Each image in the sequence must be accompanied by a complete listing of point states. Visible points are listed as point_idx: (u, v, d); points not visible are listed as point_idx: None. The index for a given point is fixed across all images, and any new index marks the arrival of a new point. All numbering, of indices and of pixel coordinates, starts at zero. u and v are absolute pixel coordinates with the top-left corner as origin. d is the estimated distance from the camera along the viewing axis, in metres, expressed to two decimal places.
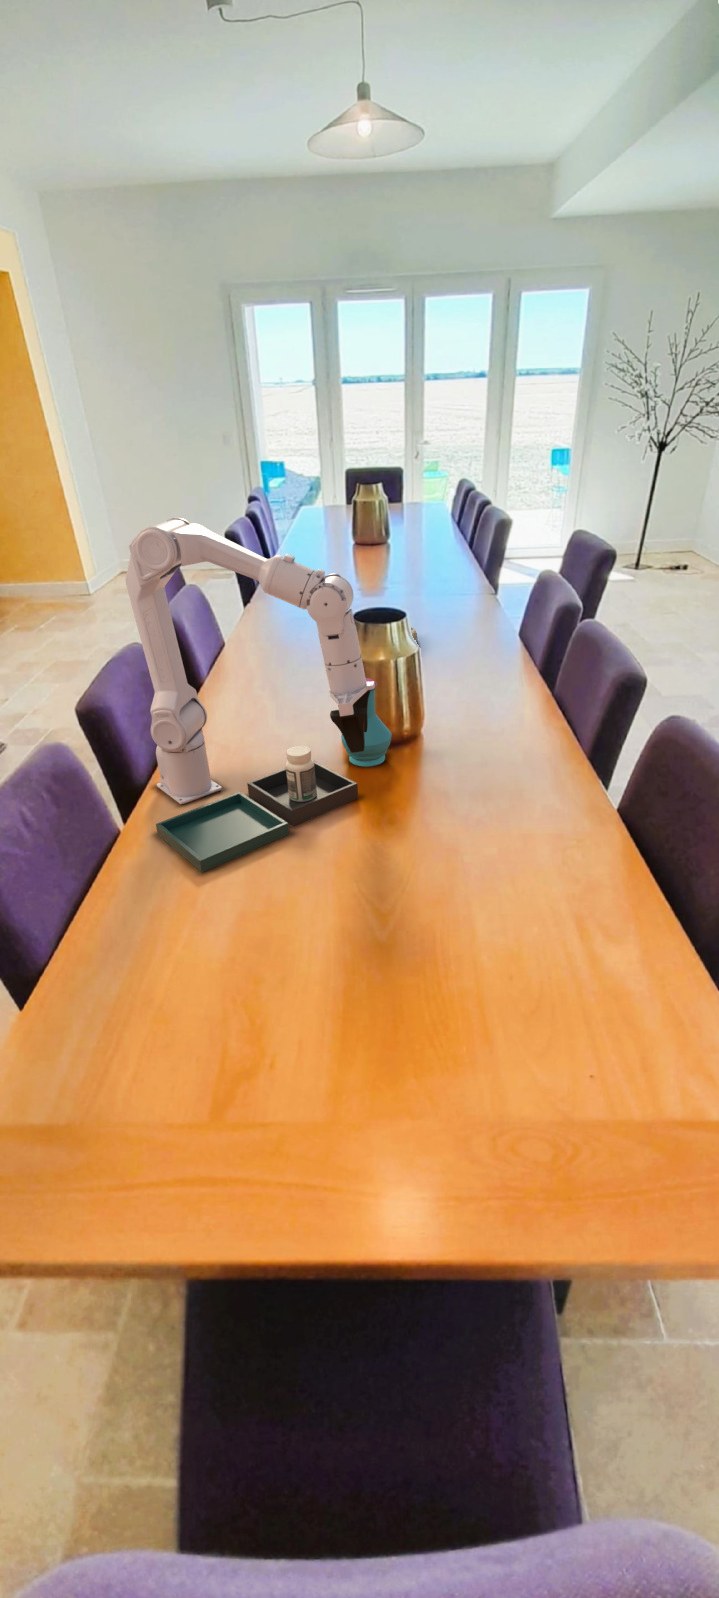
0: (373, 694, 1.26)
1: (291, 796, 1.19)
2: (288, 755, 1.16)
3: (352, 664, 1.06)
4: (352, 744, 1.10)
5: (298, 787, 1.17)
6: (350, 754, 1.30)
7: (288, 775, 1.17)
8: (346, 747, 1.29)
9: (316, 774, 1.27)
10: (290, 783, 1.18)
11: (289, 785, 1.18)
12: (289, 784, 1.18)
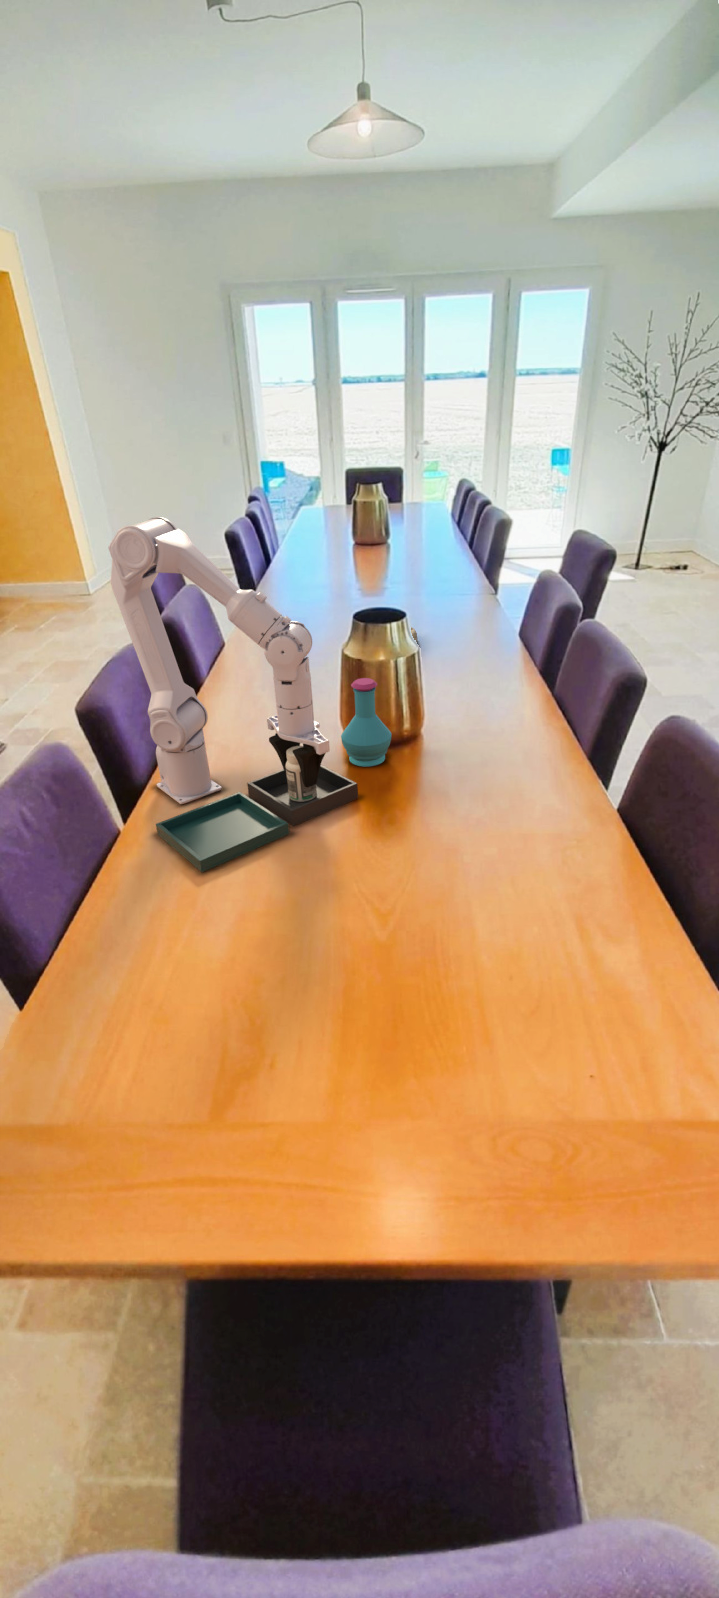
0: (373, 694, 1.26)
1: (291, 796, 1.19)
2: (288, 755, 1.16)
3: (311, 705, 1.12)
4: (309, 779, 1.16)
5: (298, 787, 1.17)
6: (350, 754, 1.30)
7: (288, 775, 1.17)
8: (346, 747, 1.29)
9: None
10: (290, 783, 1.18)
11: (289, 785, 1.18)
12: (289, 784, 1.18)
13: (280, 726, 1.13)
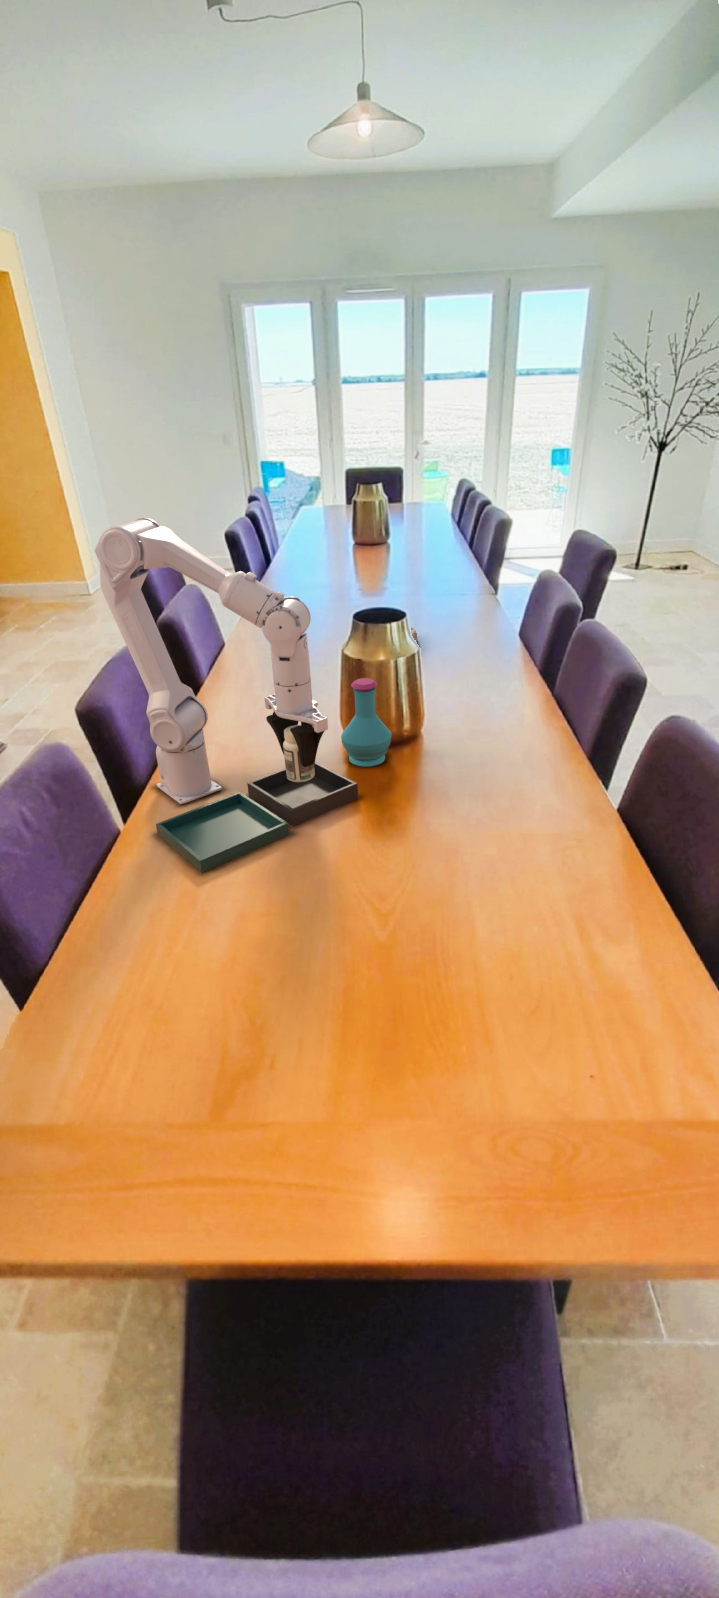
0: (373, 694, 1.26)
1: (289, 776, 1.17)
2: (286, 734, 1.14)
3: (309, 683, 1.10)
4: (307, 758, 1.15)
5: (296, 767, 1.16)
6: (350, 754, 1.30)
7: (286, 755, 1.16)
8: (346, 747, 1.29)
9: (316, 774, 1.27)
10: (288, 762, 1.16)
11: (287, 765, 1.17)
12: (287, 764, 1.16)
13: (278, 704, 1.11)
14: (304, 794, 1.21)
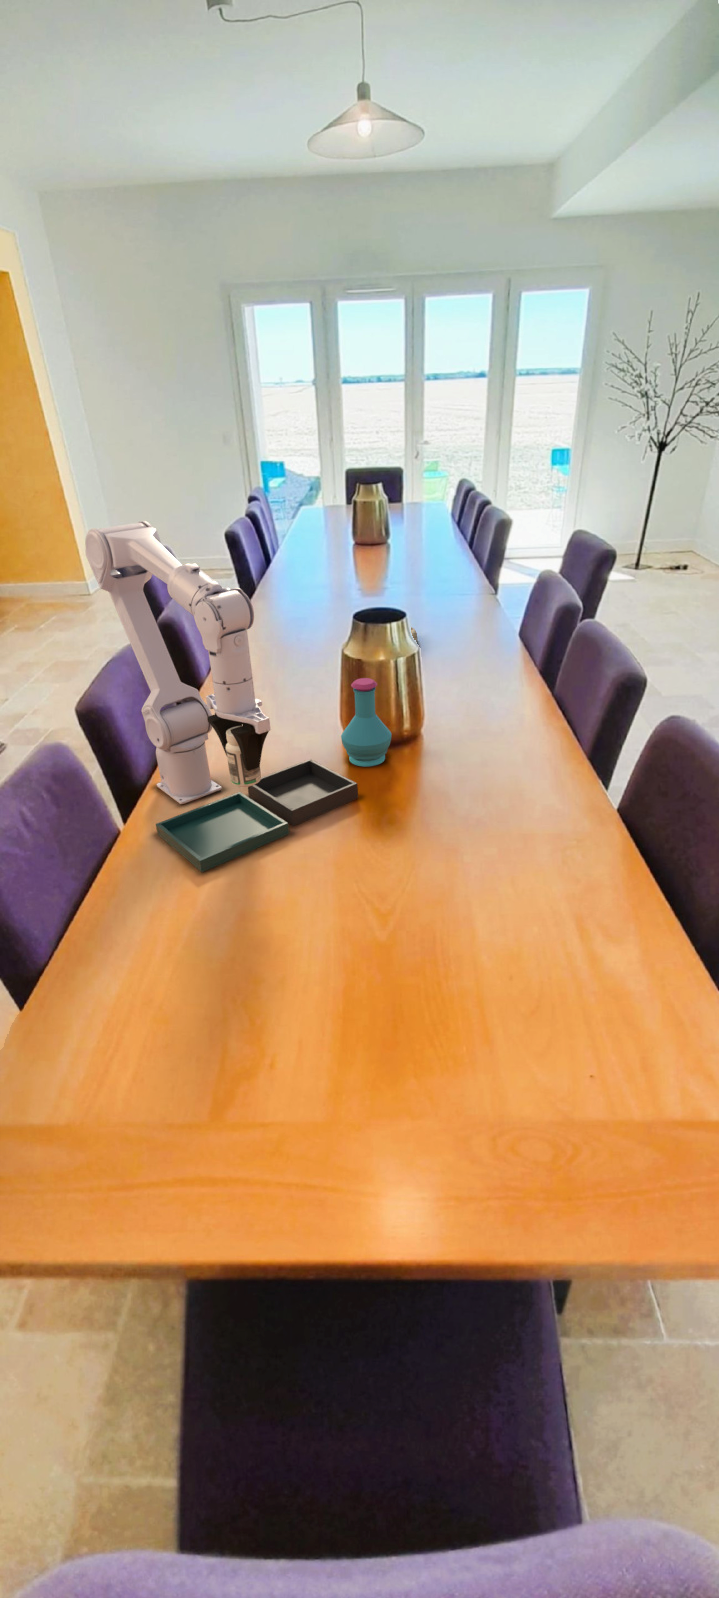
0: (373, 694, 1.26)
1: (232, 780, 1.10)
2: (227, 735, 1.06)
3: (251, 680, 1.03)
4: (250, 761, 1.07)
5: (240, 770, 1.08)
6: (350, 754, 1.30)
7: (228, 757, 1.08)
8: (346, 747, 1.29)
9: (316, 774, 1.27)
10: (231, 766, 1.08)
11: (230, 768, 1.09)
12: (230, 767, 1.09)
13: (217, 703, 1.03)
14: (304, 794, 1.21)
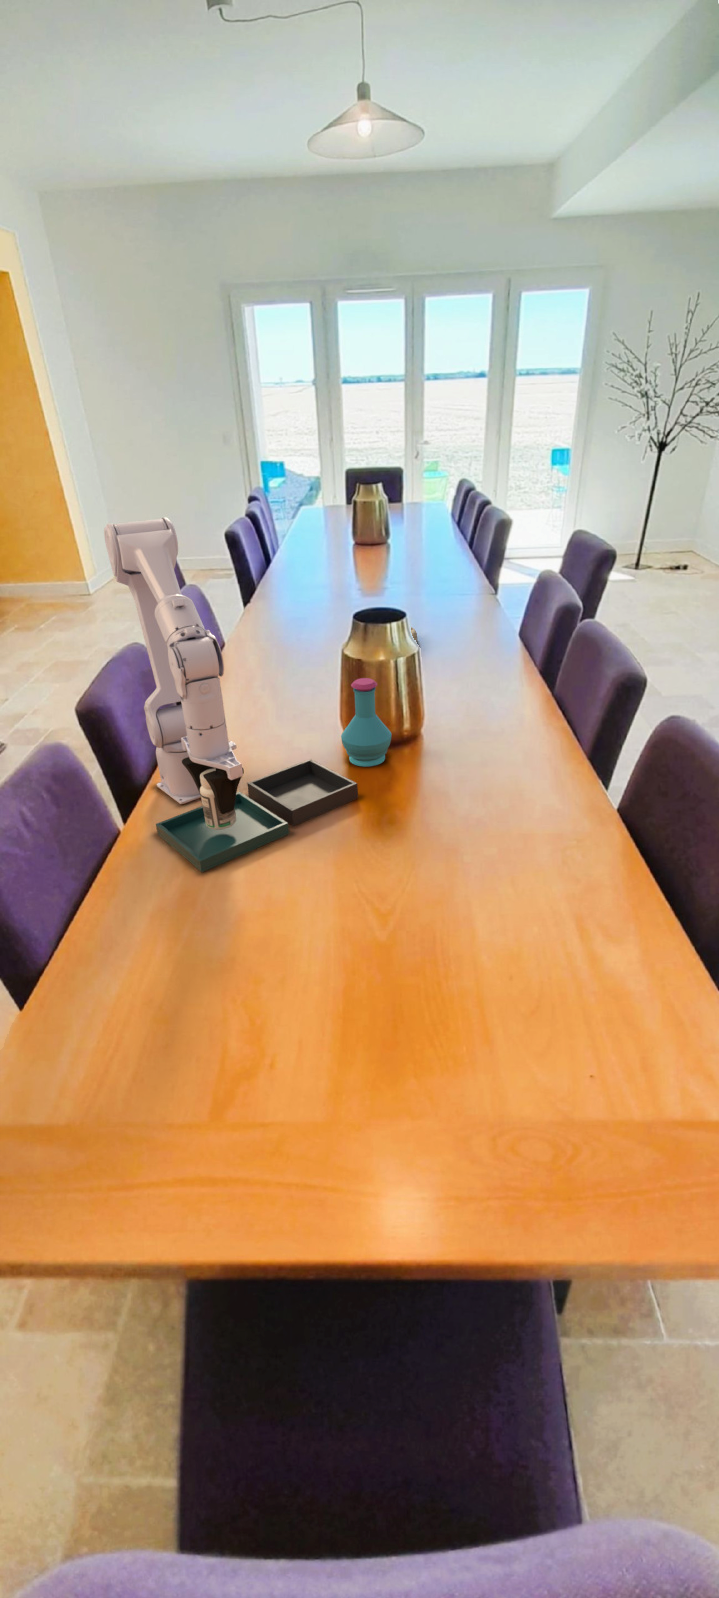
0: (373, 694, 1.26)
1: (207, 823, 1.09)
2: (201, 779, 1.06)
3: (223, 725, 1.02)
4: (224, 805, 1.06)
5: (214, 814, 1.07)
6: (350, 754, 1.30)
7: (202, 801, 1.07)
8: (346, 747, 1.29)
9: (316, 774, 1.27)
10: (205, 809, 1.08)
11: (204, 811, 1.08)
12: (204, 810, 1.08)
13: (190, 748, 1.03)
14: (304, 794, 1.21)
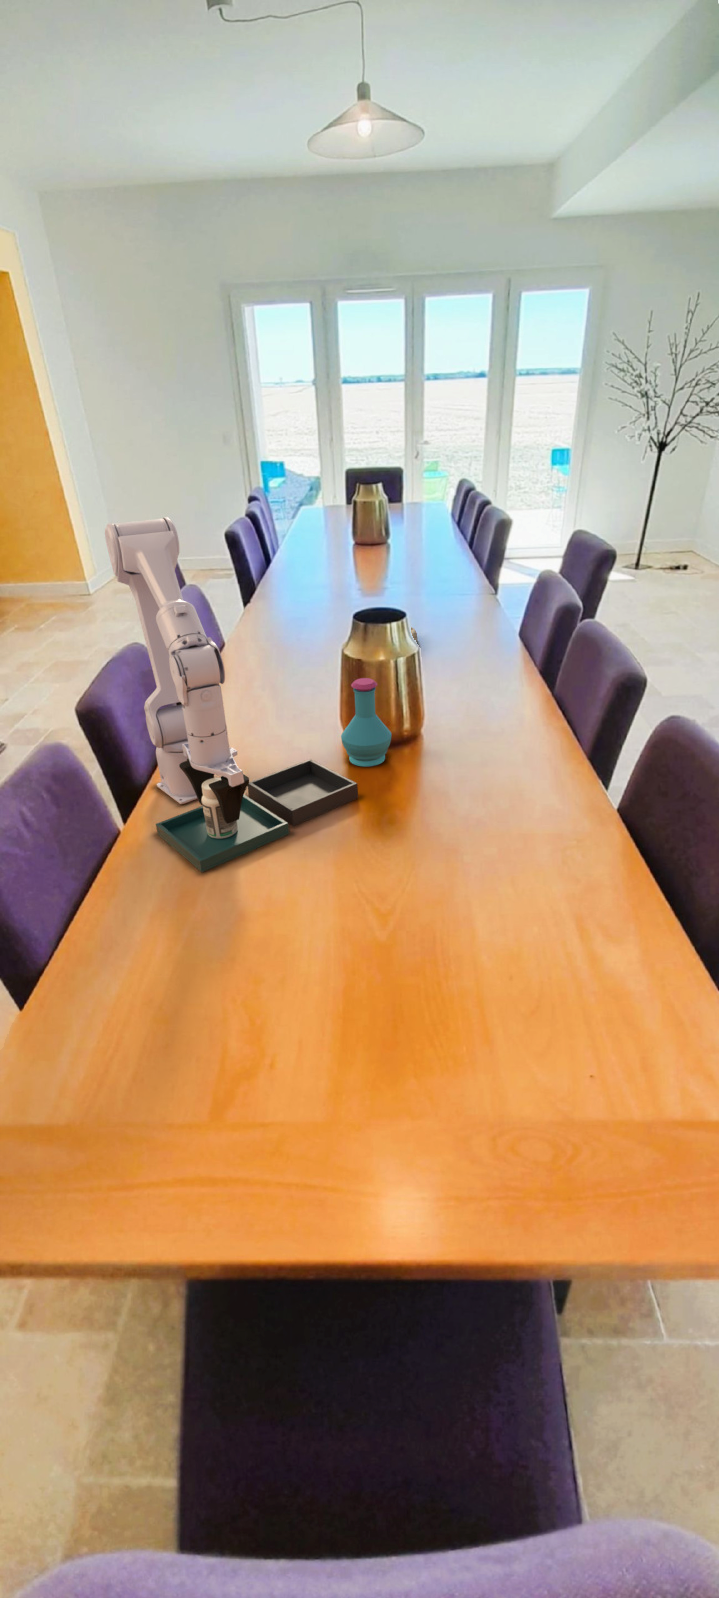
0: (373, 694, 1.26)
1: (208, 832, 1.10)
2: (203, 789, 1.06)
3: (225, 732, 1.03)
4: (230, 814, 1.06)
5: (215, 823, 1.08)
6: (350, 754, 1.30)
7: (204, 810, 1.08)
8: (346, 747, 1.29)
9: (316, 774, 1.27)
10: (206, 818, 1.08)
11: (206, 820, 1.09)
12: (206, 819, 1.09)
13: (191, 755, 1.03)
14: (304, 794, 1.21)
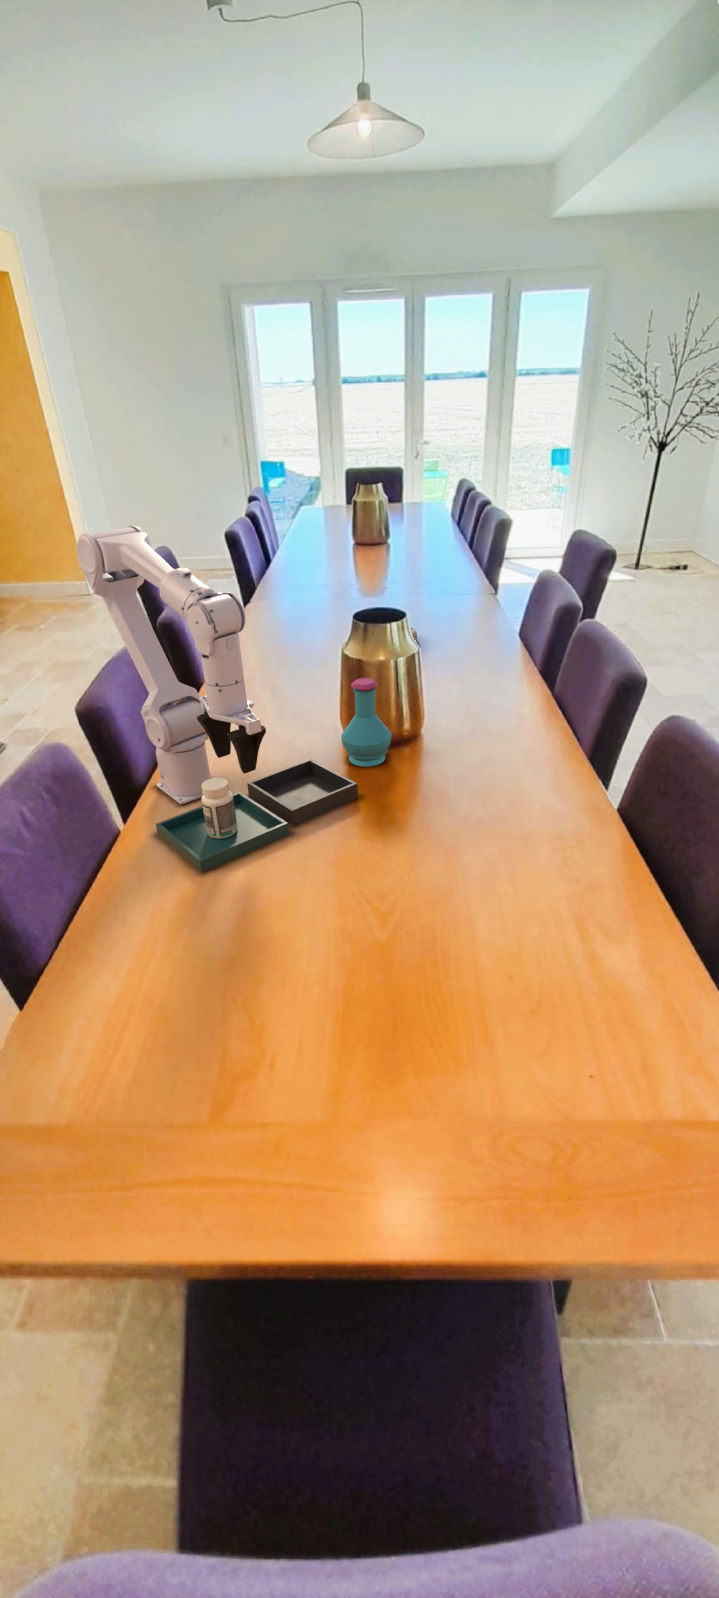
0: (373, 694, 1.26)
1: (208, 832, 1.10)
2: (203, 789, 1.06)
3: (242, 682, 1.05)
4: (246, 764, 1.08)
5: (215, 823, 1.08)
6: (350, 754, 1.30)
7: (204, 810, 1.08)
8: (346, 747, 1.29)
9: (316, 774, 1.27)
10: (206, 818, 1.08)
11: (206, 820, 1.09)
12: (206, 819, 1.09)
13: (209, 705, 1.06)
14: (304, 794, 1.21)
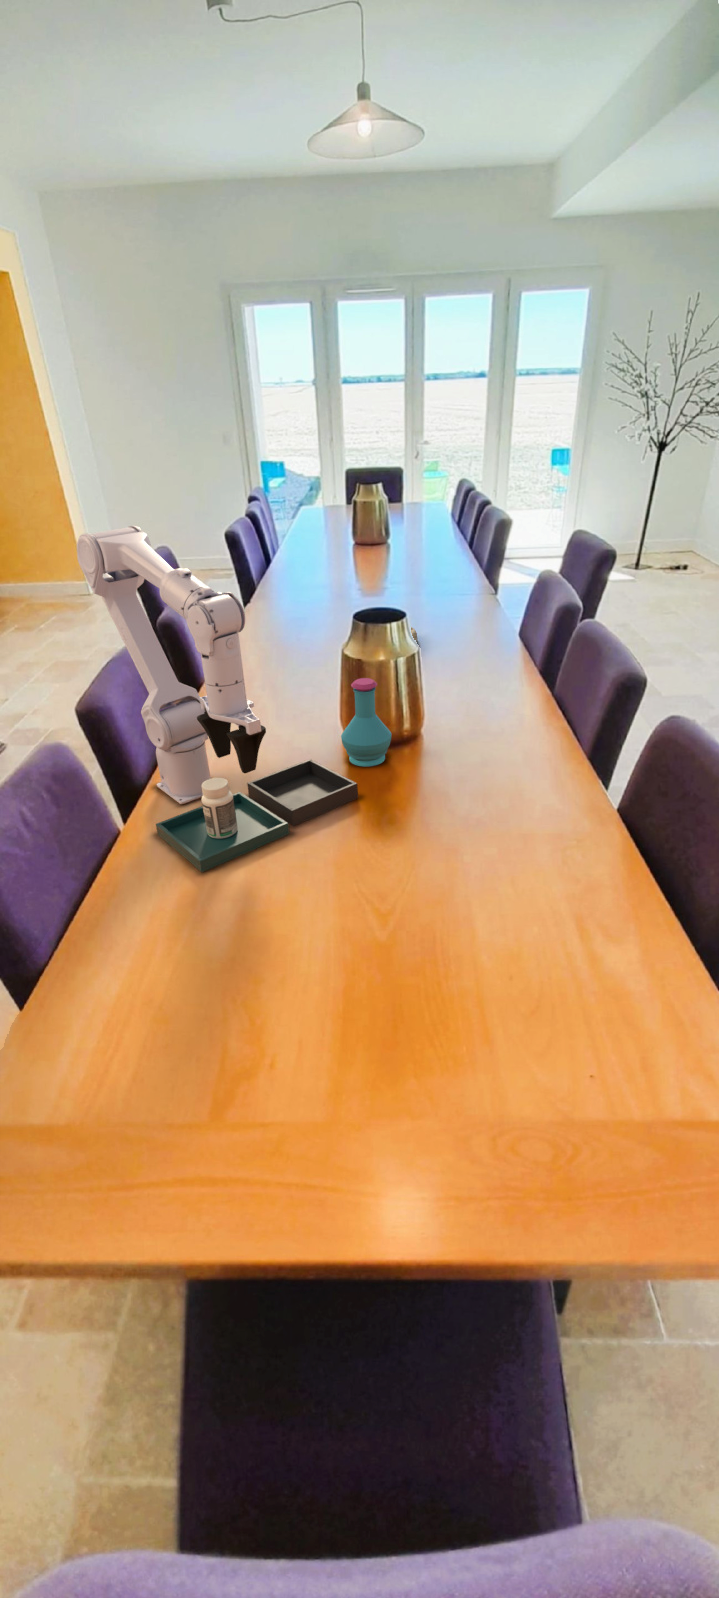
0: (373, 694, 1.26)
1: (208, 832, 1.10)
2: (203, 789, 1.06)
3: (242, 682, 1.05)
4: (246, 764, 1.08)
5: (215, 823, 1.08)
6: (350, 754, 1.30)
7: (204, 810, 1.08)
8: (346, 747, 1.29)
9: (316, 774, 1.27)
10: (206, 818, 1.08)
11: (206, 820, 1.09)
12: (206, 819, 1.09)
13: (209, 705, 1.06)
14: (304, 794, 1.21)
